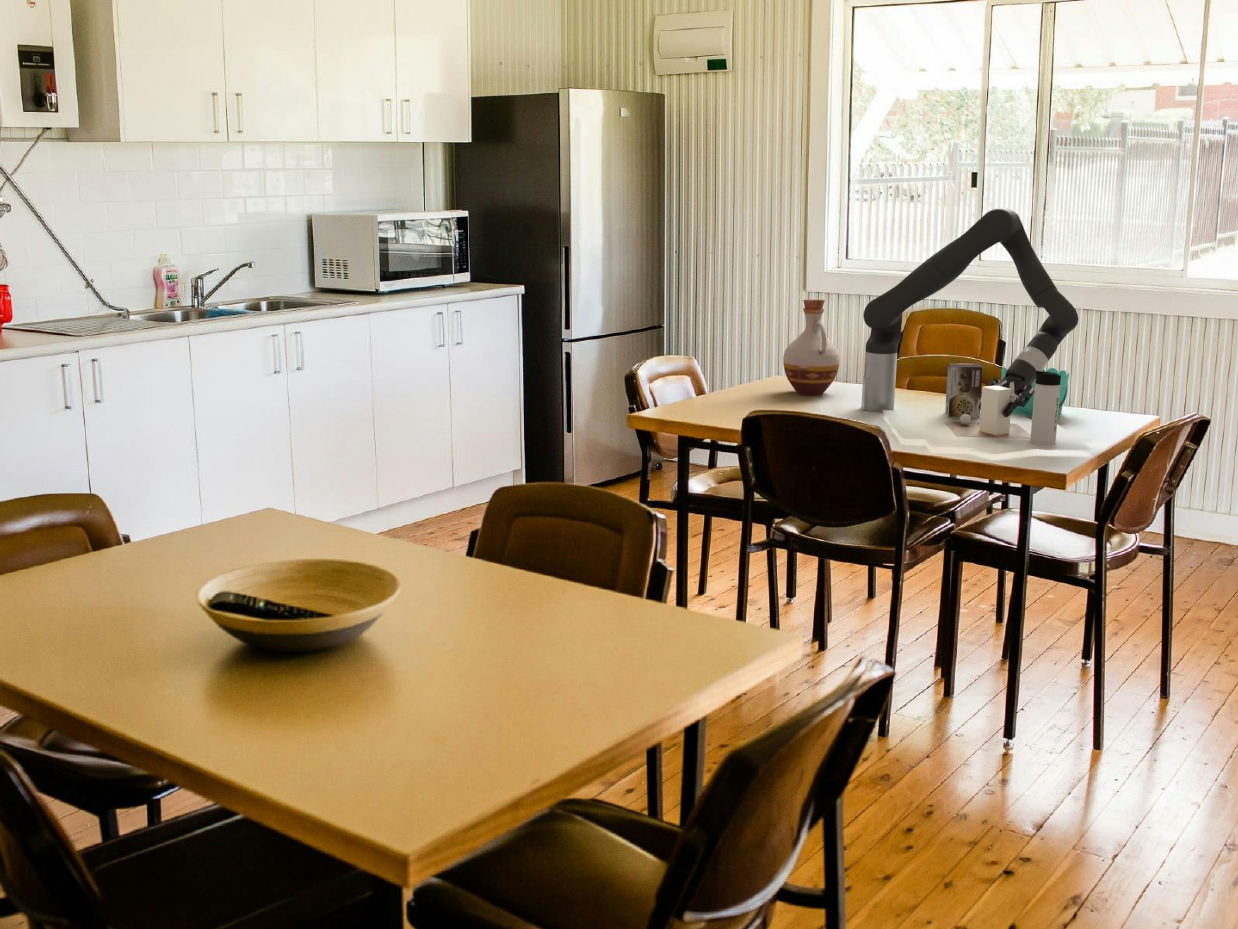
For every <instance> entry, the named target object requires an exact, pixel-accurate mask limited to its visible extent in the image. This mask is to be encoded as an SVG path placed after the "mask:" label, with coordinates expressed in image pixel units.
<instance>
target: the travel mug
mask: <svg viewBox="0 0 1238 929" xmlns="http://www.w3.org/2000/svg"><path fill="white" fill-rule="evenodd" d="M1035 374H1036V381H1035V390H1034V402H1033V414H1032V418H1031V426H1030V435H1031V438H1029V439H1030V442H1031V443H1033V444H1038V445H1039V444H1040V445H1054V444H1056V440H1057V431H1058V419H1059V417H1058V409H1059V398H1060V386H1061V382H1060V381H1061V375H1058V374H1056V373H1051V372H1046V370H1045V371H1038V370H1035Z"/></svg>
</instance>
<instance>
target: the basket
mask: <svg viewBox="0 0 1238 929" xmlns="http://www.w3.org/2000/svg"><path fill="white" fill-rule="evenodd" d="M1007 369H1008V368H1007V367H1005V366H1004V367H1002V369H1001V370H1000V371H1001V378H1000V380H1002V379H1004V378H1005V375H1006V371H1007ZM1042 371H1045V372H1051V373H1056V374H1058V375H1061V381H1060V382H1061V386H1060V398H1059V409H1058V418H1059V417H1061V416H1060V415H1062V411H1063V410H1062V409H1063V406H1064V403H1065V401H1066V399H1067V395H1068V388H1069V386H1068V384H1069V382H1068V381H1069V376H1070V372H1069V371H1068V372H1067V371H1066V370H1064V369H1062V370H1060V371H1059V372H1058V370H1057V369H1056V368H1055V367H1050V368H1047V369H1046V370H1045V368H1044V369H1043V370H1042ZM1035 381H1036V380H1035ZM1035 381H1034V382H1033V384H1032V387H1033V388H1034V390H1035ZM1021 394H1022V393H1021ZM1023 400H1024V399H1023ZM1033 402H1034V394H1033V395H1032V397H1031V398H1030V400H1029V401H1028V403H1027V404H1026V405H1025V406H1024V407H1022V406H1019V407H1017V408H1015V410H1014V411H1013V412H1012V414H1022V415H1023V416H1024V417H1026V418H1031V419H1032V414H1033Z"/></svg>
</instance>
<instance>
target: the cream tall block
mask: <svg viewBox="0 0 1238 929" xmlns="http://www.w3.org/2000/svg"><path fill="white" fill-rule="evenodd" d="M1012 391H1013V389H1011V388H1006V387H1001V386H987V385H986V386H982V390H981V392H982V393H981V411H980V418H979V423H980V425H979V431H981V432H985V433H989V434H993V435H999V434H1008V433H1009V429H1010V423H1011V416H1012V414H1011V415H1010V416H1008V417H1004V416H1003V414H1002V411H1003V410H1004V408H1005V407H1006V406H1007V404H1008V403H1009V402H1011V396H1010V394H1011V392H1012Z"/></svg>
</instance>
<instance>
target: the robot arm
mask: <svg viewBox="0 0 1238 929" xmlns="http://www.w3.org/2000/svg"><path fill="white" fill-rule="evenodd" d="M1026 232H1027V231H1026V230H1025V228H1024V225H1023V222H1022V219H1021V218H1020V216H1019V214H1018V213H1017V212H1016V211H1015V210H1013V209H1011V208H1008V207H1007V208H1006V207H996V208H992V209H990V210H989V211H987V212H986V213H985V214H983V215H982V216H981V217H980V218H979V219H978V220H977V221H976V222H975V223H974V224H973V225H971V227H969V229H967V230H966V231H965V232H964V233H963V234H962V235H960V236H959V237H957V238H956V239H954V240H952V241H951V242H949V243H948V244H946V245H945V246H943V247H942V248H940V250H938V251H937V252H935V253H934V254H932V255H931V256H930V257H928V258H927V259H926V260H925V261H924V262H922V263H921V264H919V266H917V267H916V268H915V269H914V270H913V271H912V272H910V273H909V274H908V275H906V277H905V278H903V279H902V280H901V281H900V282H899V283H898V284H896V285H895V286H893V287H891V289H888V291H886V292H884V293H882V294H881V295H879V296H877V297H876V298H873V299H872V300H871V301H870V302H868V303H867V304H866V305H865V308H864V310H863V322H864V323H865V325H866V326H867V327H868V328H870V335H869V337H868V339H867V341H866V342H865V354H864V356H865V357H864V371H863V377H862V388H861V409H862V410H863V411H869V412H881V413H882V412H884V411H891V412H893V411H894V410H895V399H896V398H895V397H896V396H895V394H896V379H897V378H896V376H897V364H898V363H897V362H898V348H899V344H900V342H901V336H902V325H903V313H904V312H905V311H906V310H908V309H909V308H910V307H911V306H914V305H916V304H917V303H919V302H920V301H924V300H925V299H927V298H928V297H931V296H933V295H934V294H936V293H938V292H939V291H940V290H942V289H944V288H945V287H946V286H949V285H950V284H951V283H952V282H954V281H955V280H956V279H958V277H959V276H960V275H961V274H963V273H964V272H965V270H966V269H967V268H968V267H969V265H970V264H971V263H972V262H973V261H974V260H975V259H976V258H977V257H978V256H979V255H981V254H982V253H984V252H985V251H987V250H988V249H990V248H992V247H993V246H995V245H996V244H998V243H1000V244H1001V245H1002V247H1003V248H1004V249H1005V250H1006V251H1007V253H1008V254H1009V255H1010V257H1011V259H1012V262H1013V263H1014V265H1015V267H1016V271H1017V273H1018V276H1019V278H1020V281H1021V283H1022V285H1023V287H1024V289H1025V291H1026V293H1027V294H1028V296H1029V297H1030V299H1031V301H1032V302H1033V304H1034V305H1035V306H1036V307H1037V308H1039V309H1042V308H1043V309H1044V310H1045V311H1046V313H1047V314H1048V316H1047V318H1046V319H1045V320H1044V321H1043V323H1042V324H1041V326H1040V328H1038V331H1037V332H1036V334H1035V335H1034V336H1033V337H1032V338H1031V339H1030V341H1029V342H1028V344H1027V345H1026V346H1025V347H1024V349H1023V350H1022V351H1020V353H1019V354H1018V355H1017V356H1016V358H1015V359H1014V360H1013V361H1012V363H1011V364H1010V366H1008V368H1006V369H1007V371H1006V375H1005V378H1004V379H1002V380H1001V379H998V378H997V377H996V376H995V377H993V378H992V379H991V380H990V381H989V382H988V384H987V385H986V386H1001V387H1006V388H1011V389H1013V391H1012V392H1011V394H1010V396H1011V402H1009V403H1008V404H1007V406H1006V407H1005V408H1004V410H1003V411H1002V414H1003V416H1004V417H1008V416H1010V415H1011V416H1012V414H1013V413H1012V412H1013V411H1014V410H1015V408H1017V407H1019V406H1022V407H1024V406H1025V405H1026V404H1027V403H1028V401H1029V400H1030V398H1031V397H1032V395H1033V394H1034V388H1033V387H1032V384H1033V382H1034V381H1035V380H1036V374H1035V370H1038V371H1042V370H1043V369H1044V370H1045V368H1046V366H1047V364H1048V362H1049V361H1050V359H1051V358H1052V357H1053V356H1054V354H1056V352H1057V350H1058V346H1059V345H1060V344H1061V343H1062V341H1063V340H1064V339H1066V336H1067V335H1069V333H1071V332H1072V331H1073V330H1074V329H1075V328H1076V327H1077V326H1078V324H1079V315H1078V312H1077V310H1076V308H1075V307H1074V305H1073V304H1072V303H1071V301H1069V300H1068V298H1066V297H1065V296H1064V295H1063V294H1062V293H1061V292H1060V291H1059V290H1058V288H1057V287H1056V285H1055V283H1054V281H1053V279H1052V278H1051V276H1050V275H1049V273H1048V272H1047V270H1046V268H1045V267H1044V266H1043V264H1042V262H1041V260H1040V259H1039V257H1038V255H1037V253H1036V252H1035V250H1034V248H1033V246H1032V244H1031V242H1030V240H1029V238H1028V235H1027V233H1026ZM1021 393H1022V394H1021ZM981 394H982V391H981ZM1023 399H1024V400H1023ZM979 409H980V412H981V403H980V404H979Z"/></svg>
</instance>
